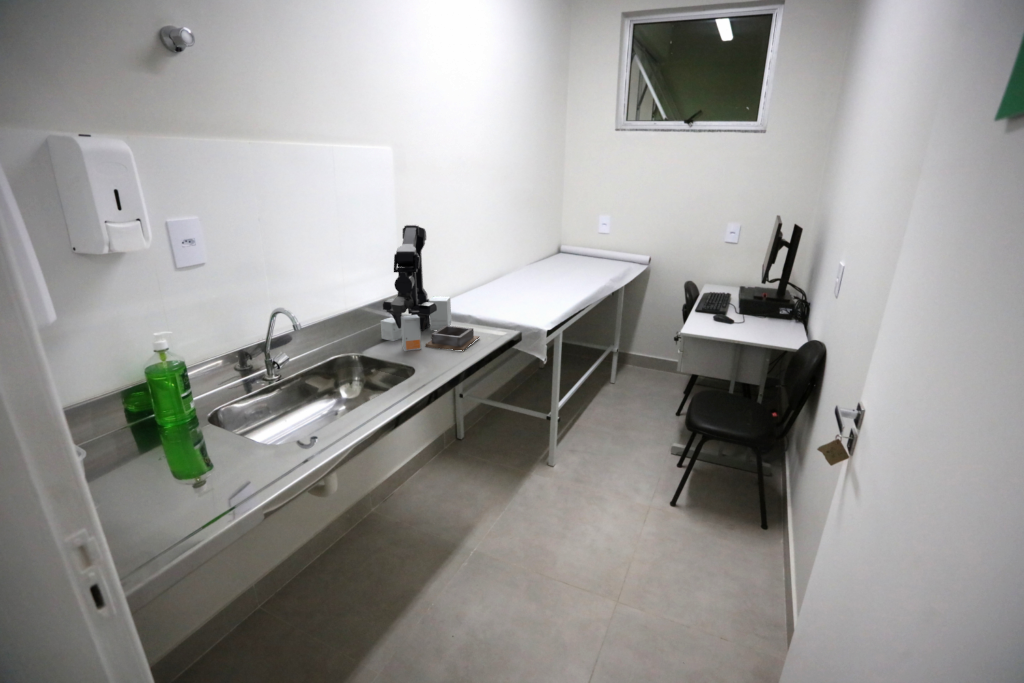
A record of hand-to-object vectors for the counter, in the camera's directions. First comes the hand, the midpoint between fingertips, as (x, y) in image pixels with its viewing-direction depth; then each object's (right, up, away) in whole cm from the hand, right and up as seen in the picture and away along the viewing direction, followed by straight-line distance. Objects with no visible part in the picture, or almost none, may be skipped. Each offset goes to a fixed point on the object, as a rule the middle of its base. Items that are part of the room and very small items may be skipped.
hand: (411, 329), depth 180 cm
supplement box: (+7, +1, +25) cm, 26 cm away
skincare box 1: (-10, -3, +14) cm, 17 cm away
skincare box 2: (0, -7, +2) cm, 7 cm away
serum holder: (+14, -5, +9) cm, 17 cm away
